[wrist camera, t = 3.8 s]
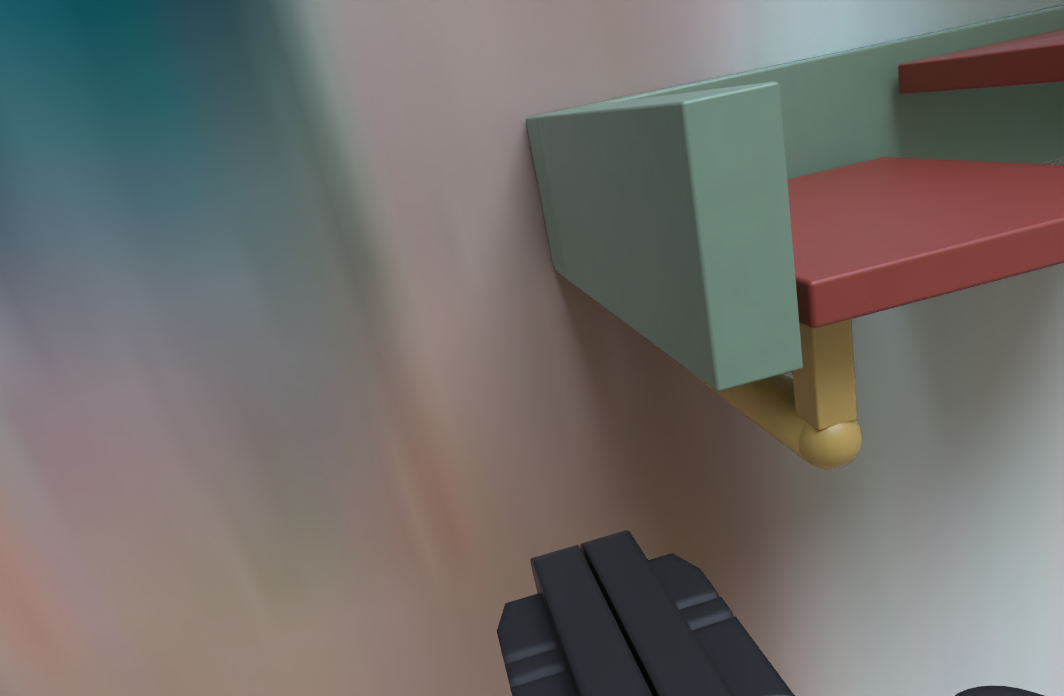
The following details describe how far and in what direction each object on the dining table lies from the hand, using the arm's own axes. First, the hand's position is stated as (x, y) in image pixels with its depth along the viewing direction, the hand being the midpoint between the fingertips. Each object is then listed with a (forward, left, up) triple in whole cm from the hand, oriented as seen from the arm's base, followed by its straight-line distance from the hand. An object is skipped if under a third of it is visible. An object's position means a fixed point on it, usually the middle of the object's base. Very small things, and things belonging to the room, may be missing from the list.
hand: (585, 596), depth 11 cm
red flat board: (+8, -4, -10) cm, 13 cm away
